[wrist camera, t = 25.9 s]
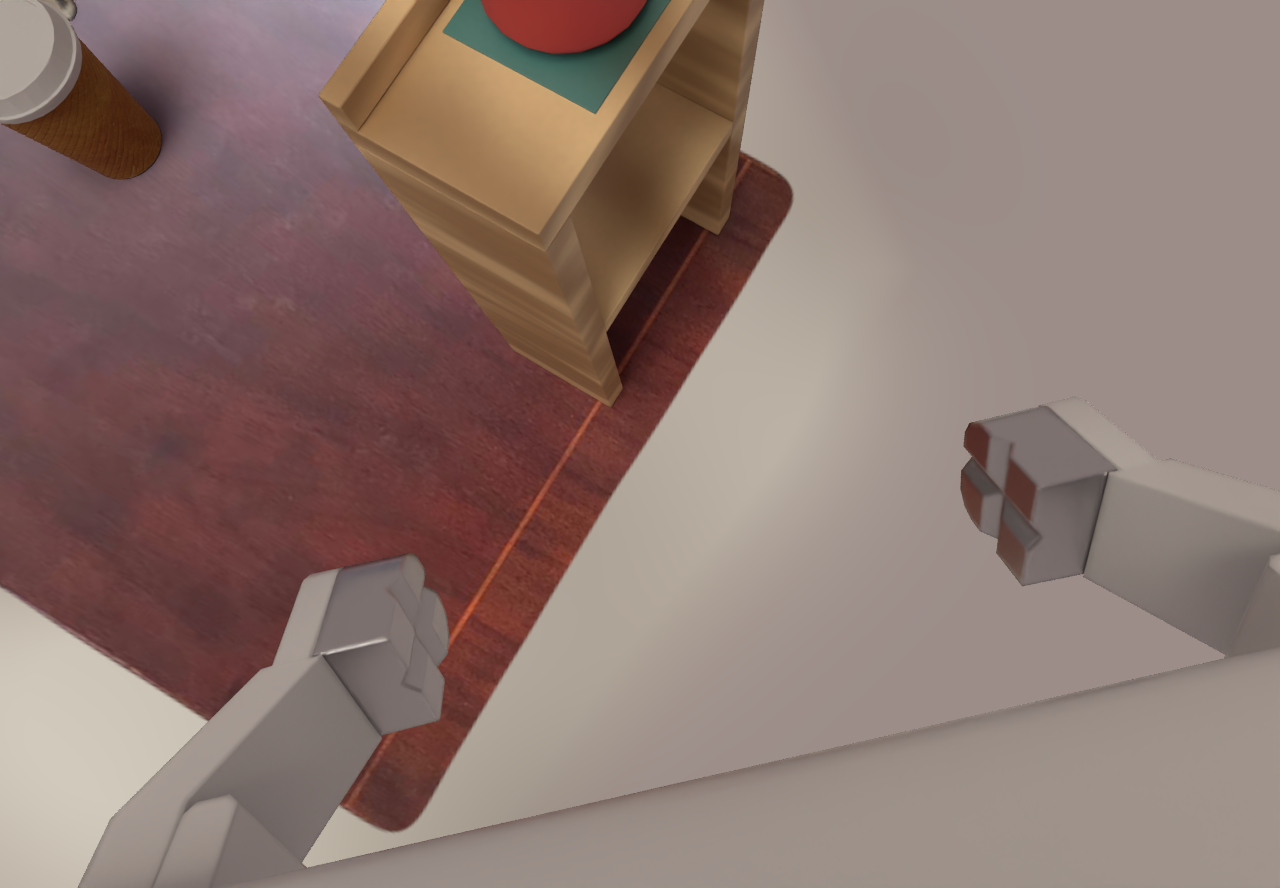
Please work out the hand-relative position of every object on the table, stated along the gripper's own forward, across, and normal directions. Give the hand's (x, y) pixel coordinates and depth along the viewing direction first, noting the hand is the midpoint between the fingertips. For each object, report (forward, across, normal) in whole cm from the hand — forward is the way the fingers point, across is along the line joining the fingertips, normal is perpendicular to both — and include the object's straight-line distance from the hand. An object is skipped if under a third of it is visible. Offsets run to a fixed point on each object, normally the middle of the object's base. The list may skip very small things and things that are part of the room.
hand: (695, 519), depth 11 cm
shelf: (+46, 0, +16) cm, 48 cm away
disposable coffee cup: (+61, +38, 0) cm, 72 cm away
